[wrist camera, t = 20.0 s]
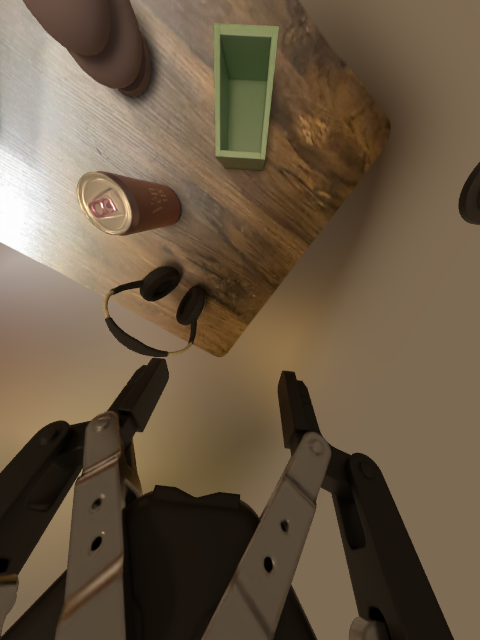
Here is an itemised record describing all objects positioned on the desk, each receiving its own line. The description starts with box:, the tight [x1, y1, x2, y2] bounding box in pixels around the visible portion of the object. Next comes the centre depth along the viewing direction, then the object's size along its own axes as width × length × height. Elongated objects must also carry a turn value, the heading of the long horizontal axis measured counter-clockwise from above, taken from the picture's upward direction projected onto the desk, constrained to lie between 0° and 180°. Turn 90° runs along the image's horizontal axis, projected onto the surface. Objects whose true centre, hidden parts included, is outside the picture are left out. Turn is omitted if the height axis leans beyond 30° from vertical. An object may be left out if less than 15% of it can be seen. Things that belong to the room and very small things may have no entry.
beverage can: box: [77, 171, 180, 236], centre depth 25 cm, size 6×6×15 cm
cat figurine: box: [23, 0, 151, 97], centre depth 17 cm, size 8×8×12 cm
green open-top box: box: [214, 24, 279, 171], centre depth 21 cm, size 8×6×9 cm
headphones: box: [103, 266, 206, 357], centre depth 31 cm, size 9×15×20 cm, turn 48°
